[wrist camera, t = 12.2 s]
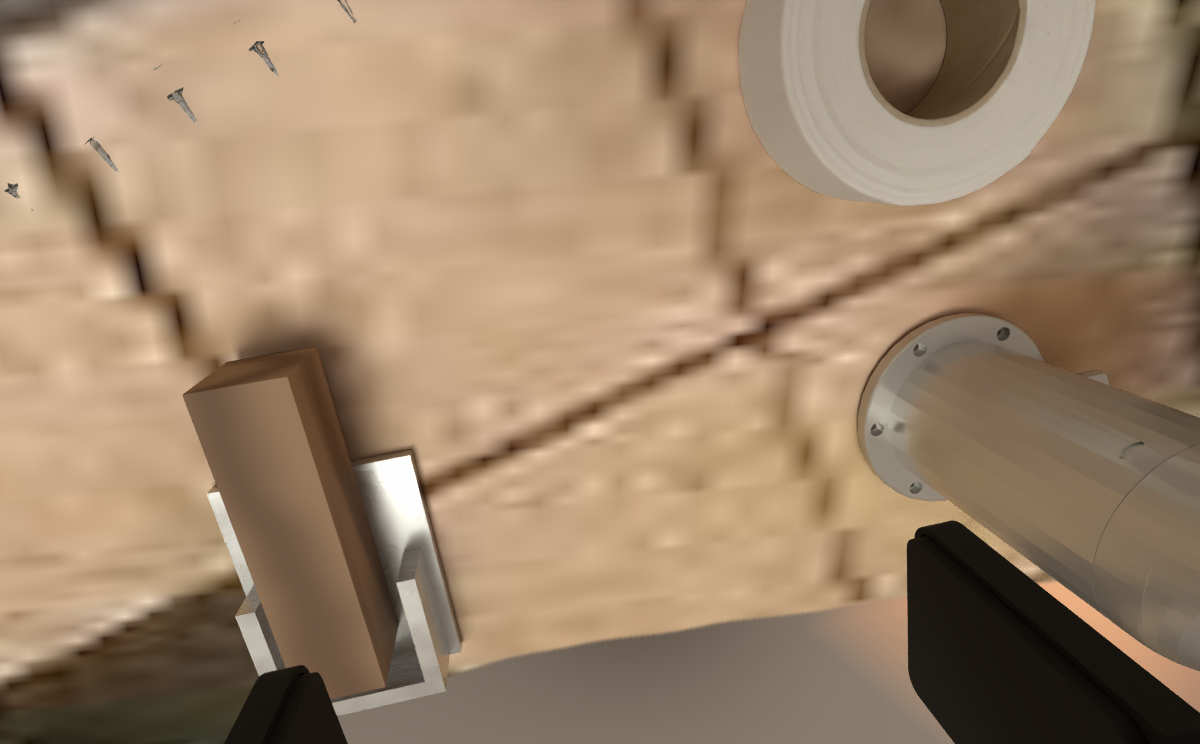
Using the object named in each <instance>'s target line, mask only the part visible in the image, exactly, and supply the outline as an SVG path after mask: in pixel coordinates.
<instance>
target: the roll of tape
mask: <svg viewBox="0 0 1200 744" xmlns="http://www.w3.org/2000/svg"><path fill="white" fill-rule="evenodd" d="M871 1H872V0H747V1H746V4H745V9H744V13H743V18H742V23H741V29H740V36H739V51H738V53H739V63H738V66H739V76H740V85H741V92H742V96H743V100H744V104H745V108H746V112H747V115H748V117H749V120H750V122H751V126H752V128H753V130H754V132H755V134H756V135H757V137H758V138H759V140H760V142H761V144H762V145H763V147H764V148H765V150H766V152H767V153H768V154H769V156H770V157H771V158H772V159H773V160H774V161H775V163H776V164H777V165H778V166H779V167H780V168H781V169H782V170H783V171H784V172H785V173H786V174H787V175H789V176H790V177H791V178H793V179H794V180H796V181H797V182H798V183H800V184H801V185H803V186H805V187H807V188H809V189H811V190H813V191H814V192H816V193H819V194H822V195H826V196H830V197H834V198H838V199H844V200H852V201H863V202H873V203H883V204H891V205H901V206H912V205H926V204H937V203H942V202H945V201H949V200H952V199H955V198H959V197H962V196H964V195H967V194H969V193H971V192H974V191H976V190H979V189H981V188H983V187H984V186H986V185H988V184H989V183H991V182H992V181H994V180H996V179H997V178H999V177H1000V176H1002V175H1003V174H1004V173H1006V172H1007V171H1009V170H1010V169H1012V168H1013V167H1015V166H1016V165H1018V164H1019V163H1020V162H1022V161H1023V160H1024V159H1025V158H1026V157H1027V156H1028V155H1029V154H1030V152H1031V151H1032V150H1033V148H1034V147H1035V145H1036V144H1037V143H1038V141H1039V140H1040V139H1041V138H1042V136H1043V135H1044V134H1045V133H1046V131H1047V130H1048V129H1049V127H1050V126H1051V125H1052V123H1053V122H1054V121H1055V119H1056V117H1057V116H1058V114H1059V113H1060V111H1061V110H1062V108H1063V106H1064V105H1065V103H1066V101H1067V99H1068V97H1069V96H1070V94H1071V92H1072V90H1073V87H1074V85H1075V83H1076V81H1077V79H1078V76H1079V74H1080V72H1081V69H1082V66H1083V63H1084V60H1085V56H1086V53H1087V49H1088V46H1089V42H1090V38H1091V33H1092V28H1093V22H1094V13H1095V1H1096V0H940V1H941V4H942V7H943V10H944V14H945V18H946V24H947V46H946V53H945V58H944V61H943V65H942V68H941V70H940V73H939V75H938V78H937V80H936V81H935V83H934V85H933V87H932V88H931V90H930V91H929V93H928V94H927V95H926V97H925V98H924V99H923V100H922V101H921V102H920V103H919V104H918V105H917V106H916V107H915V108H914V109H913V110H911V111H910V112H909V113H907V114H904V113H902V112H900V111H898V110H897V109H895V108H894V107H893V106H892V105H891V104H890V103H888V102H887V101H886V100H885V98H884V97H883V96H882V95H881V93H880V92H879V90H878V89H877V87H876V86H875V84H874V82H873V80H872V77H871V75H870V72H869V69H868V64H867V60H866V55H865V27H866V20H867V15H868V10H869V7H870V3H871Z"/></svg>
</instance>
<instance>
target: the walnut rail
mask: <svg viewBox="0 0 1200 744" xmlns="http://www.w3.org/2000/svg"><path fill="white" fill-rule="evenodd" d="M183 398H184V401H185V403H186V406H187V408H188V411H189V414H190V416H191V419H192V422H193V424H194V427H195V430H196V432H197V435H198V437H199V440H200V443H201V445H202V448H203V451H204V453H205V456H206V459H207V461H208V464H209V466H210V469H211V472H212V474H213V477H214V480H215V482H216V485H217V488H218V490H219V493H220V495H221V498H222V501H223V503H224V506H225V509H226V511H227V514H228V517H229V519H230V522H231V524H232V527H233V530H234V532H235V535H236V538H237V540H238V543H239V546H240V548H241V551H242V553H243V556H244V559H245V561H246V564H247V567H248V569H249V572H250V575H251V577H252V580H253V582H254V585H255V588H256V590H257V593H258V596H259V598H260V601H261V604H262V606H263V609H264V611H265V614H266V617H267V619H268V622H269V625H270V627H271V630H272V633H273V635H274V638H275V640H276V643H277V646H278V648H279V651H280V654H281V656H282V659H283V662H284V664H285V667H286V668H289V667H293V666H298V665H304V666H305V667H307V668H308V670H309V672H310V673H313V672H318V673H319V674H320V675H321V677H322V679H323V681H324V684H325V686H326V689H327V692H328V694H329V697H330V699H334V698H338V697H343V696H347V695H352V694H356V693H361V692H365V691H370V690H374V689H378V688H383V687H386V683H387V679H388V674H389V669H390V664H391V660H392V655H393V650H394V645H395V641H396V636H397V631H398V626H399V623H398V619H397V616H396V612H395V609H394V606H393V602H392V599H391V596H390V592H389V589H388V585H387V582H386V579H385V575H384V572H383V569H382V565H381V562H380V558H379V555H378V552H377V548H376V545H375V542H374V538H373V535H372V532H371V528H370V525H369V521H368V518H367V515H366V511H365V508H364V505H363V501H362V498H361V494H360V491H359V488H358V484H357V481H356V478H355V474H354V471H353V467H352V464H351V461H350V457H349V454H348V451H347V447H346V444H345V440H344V437H343V434H342V430H341V427H340V424H339V420H338V417H337V413H336V410H335V407H334V403H333V400H332V397H331V393H330V390H329V386H328V383H327V380H326V376H325V373H324V370H323V366H322V363H321V360H320V356H319V353H318V349H317V347H312V348H306V349H300V350H295V351H289V352H283V353H277V354H271V355H265V356H259V357H253V358H247V359H241V360H236V361H230V362H226V363H225V364H224V365H222V366H221V367H220V368H218V369H217V370H216V371H214V372H213V373H211V374H210V375H209V376H207V377H206V378H205V379H203V380H202V381H201V382H199V383H198V384H196V385H195V386H194V387H192V388H191V389H190V390H188V391H187V392H186V393H184V394H183Z"/></svg>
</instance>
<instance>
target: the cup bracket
mask: <svg viewBox="0 0 1200 744" xmlns="http://www.w3.org/2000/svg"><path fill="white" fill-rule="evenodd" d="M351 464H352V467H353V471H354V474H355V478H356V481H357V484H358V488H359V491H360V494H361V498H362V501H363V505H364V508H365V511H366V515H367V518H368V521H369V525H370V528H371V532H372V535H373V538H374V542H375V545H376V548H377V552H378V555H379V558H380V562H381V565H382V569H383V572H384V575H385V579H386V582H387V585H388V589H389V592H390V596H391V599H392V602H393V606H394V609H395V612H396V616H397V619H398V623H399V626H398V631H397V636H396V641H395V645H394V650H393V655H392V660H391V664H390V669H389V674H388V679H387V683H386V687H383V688H378V689H374V690H370V691H365V692H361V693H356V694H352V695H347V696H343V697H338V698H334V699H331V702H332V705H333V707H334V710H335V712H336V715H337V716H339V715H344V714H348V713H353V712H357V711H362V710H366V709H370V708H375V707H379V706H383V705H388V704H392V703H397V702H401V701H405V700H410V699H414V698H419V697H423V696H427V695H432V694H435V693H440V692H444V691H446V685H447V675H448V664H449V654H454V653H458V652H461V648H462V641H461V638H460V634H459V630H458V626H457V622H456V618H455V614H454V611H453V607H452V603H451V599H450V595H449V591H448V588H447V584H446V580H445V576H444V572H443V568H442V564H441V561H440V557H439V553H438V549H437V545H436V541H435V537H434V534H433V530H432V526H431V522H430V518H429V514H428V511H427V507H426V503H425V499H424V495H423V491H422V487H421V484H420V480H419V476H418V472H417V468H416V464H415V460H414V457H413V453H412V450H406V451H401V452H396V453H390V454H385V455H380V456H375V457H369V458H364V459H359V460H353V461H351ZM207 496H208V499H209V501H210V504H211V506H212V509H213V511H214V514H215V517H216V519H217V522H218V524H219V527H220V530H221V532H222V535H223V537H224V540H225V542H226V545H227V548H228V550H229V553H230V555H231V558H232V561H233V563H234V566H235V568H236V571H237V573H238V576H239V579H240V581H241V584H242V586H243V589H244V592H245V594H246V599H245V601H244V602H243V604H242V606H241V607H240V609H239V611H238V613H237V614H236V616H235V617H236V620H237V622H238V625H239V627H240V630H241V632H242V635H243V637H244V640H245V642H246V645H247V647H248V650H249V652H250V655H251V657H252V660H253V662H254V665H255V667H256V670H257V672H258V675H259V676H260V675H262V674H263V673H266V672H271V671H275V670H280V669H284V668H286V667H285V664H284V662H283V659H282V656H281V654H280V651H279V648H278V646H277V643H276V640H275V638H274V635H273V633H272V630H271V627H270V625H269V622H268V619H267V617H266V614H265V611H264V609H263V606H262V604H261V601H260V598H259V596H258V593H257V590H256V588H255V585H254V582H253V580H252V577H251V575H250V572H249V569H248V567H247V564H246V561H245V559H244V556H243V553H242V551H241V548H240V546H239V543H238V540H237V538H236V535H235V532H234V530H233V527H232V524H231V522H230V519H229V517H228V514H227V511H226V509H225V506H224V503H223V501H222V498H221V495H220V493H219V490H218V488H217V486H215V487H212V488H211V490H210V491H209V492H208V493H207Z"/></svg>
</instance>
